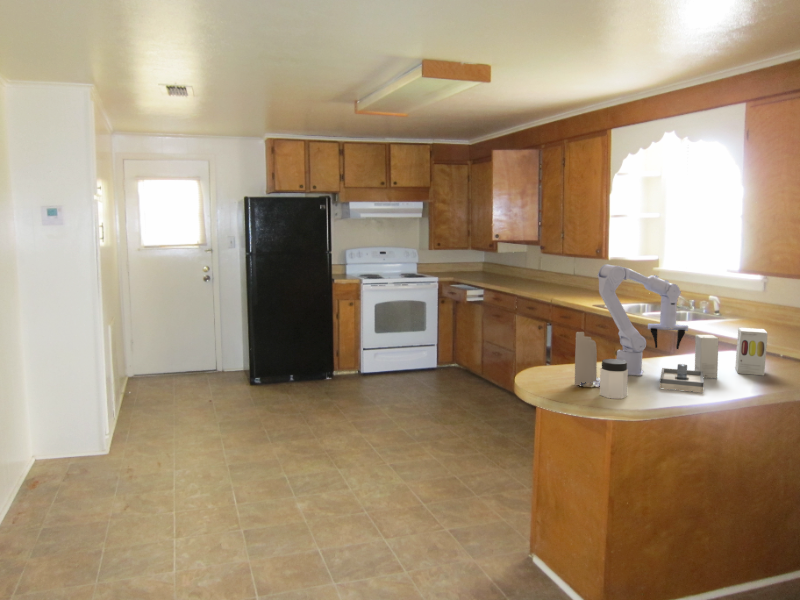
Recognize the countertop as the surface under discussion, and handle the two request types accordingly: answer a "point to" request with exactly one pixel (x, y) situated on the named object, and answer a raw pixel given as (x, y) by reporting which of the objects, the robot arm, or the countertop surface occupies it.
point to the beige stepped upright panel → (585, 359)
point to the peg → (682, 372)
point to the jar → (613, 378)
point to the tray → (691, 384)
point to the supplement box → (751, 351)
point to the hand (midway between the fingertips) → (666, 348)
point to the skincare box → (706, 355)
